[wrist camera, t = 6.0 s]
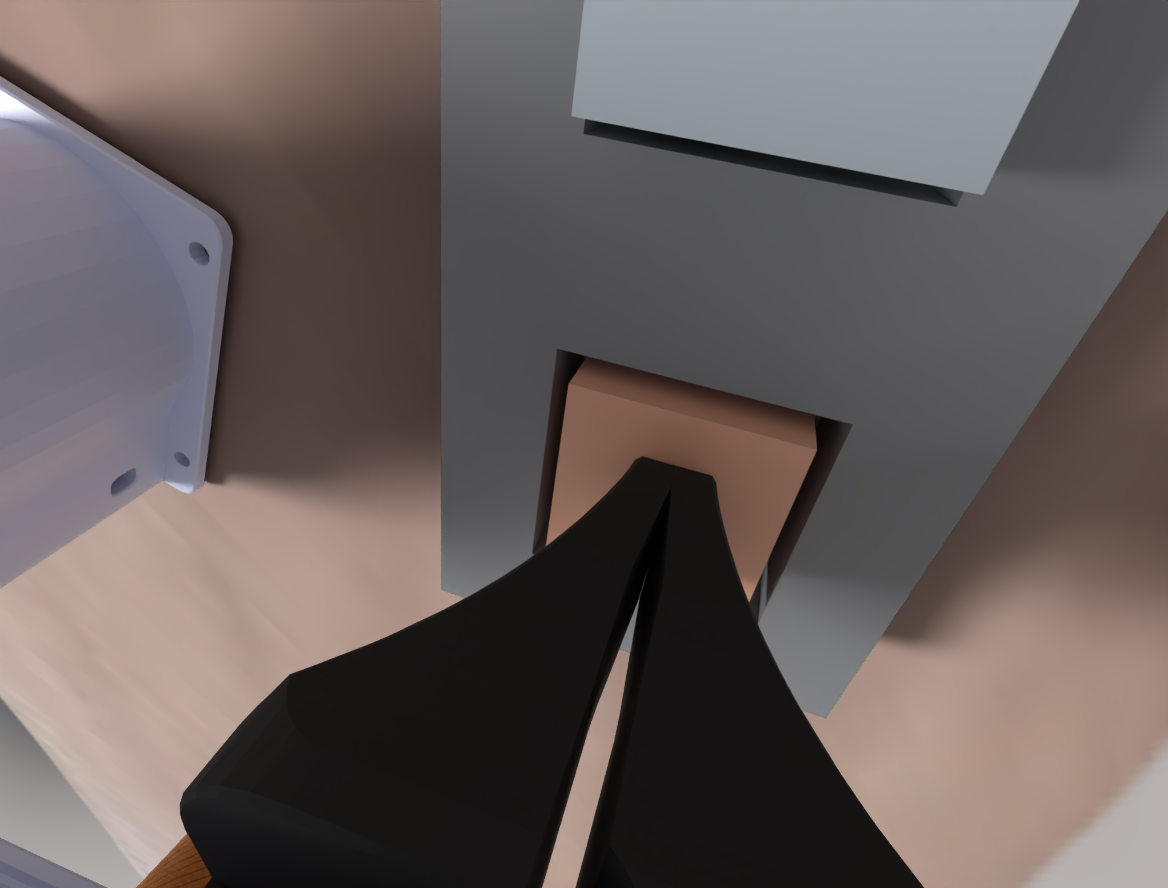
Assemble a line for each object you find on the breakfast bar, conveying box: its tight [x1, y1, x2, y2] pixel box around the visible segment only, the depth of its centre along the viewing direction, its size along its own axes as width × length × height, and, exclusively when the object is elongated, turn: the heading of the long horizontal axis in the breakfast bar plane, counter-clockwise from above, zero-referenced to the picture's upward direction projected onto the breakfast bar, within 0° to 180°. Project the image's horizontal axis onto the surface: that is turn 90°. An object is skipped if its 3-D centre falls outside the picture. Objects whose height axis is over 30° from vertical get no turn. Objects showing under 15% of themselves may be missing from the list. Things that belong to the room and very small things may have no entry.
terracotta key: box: [546, 356, 817, 601], centre depth 11 cm, size 4×4×2 cm
